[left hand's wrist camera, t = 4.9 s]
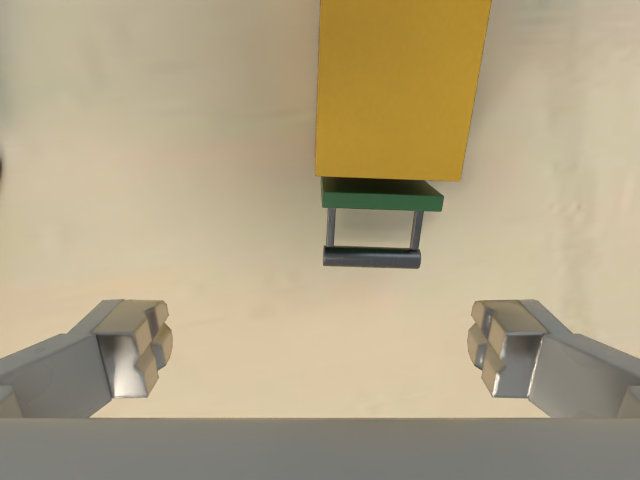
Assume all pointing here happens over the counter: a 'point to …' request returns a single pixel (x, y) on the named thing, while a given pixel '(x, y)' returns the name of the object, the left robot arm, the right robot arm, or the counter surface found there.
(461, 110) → the cabinet
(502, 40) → the counter surface
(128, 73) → the counter surface
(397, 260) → the drawer
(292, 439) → the left robot arm
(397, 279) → the counter surface
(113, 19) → the counter surface
